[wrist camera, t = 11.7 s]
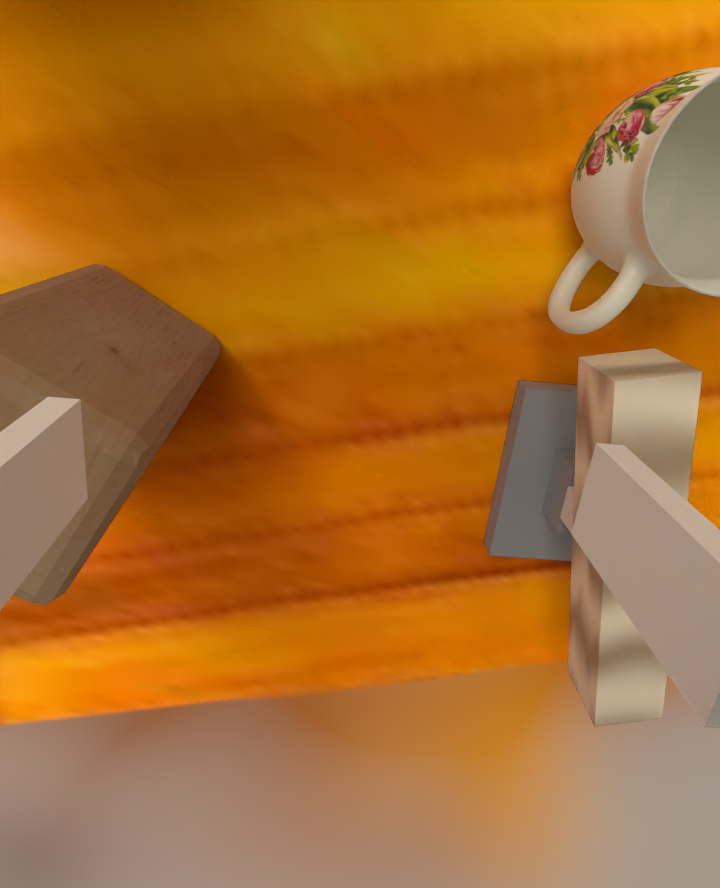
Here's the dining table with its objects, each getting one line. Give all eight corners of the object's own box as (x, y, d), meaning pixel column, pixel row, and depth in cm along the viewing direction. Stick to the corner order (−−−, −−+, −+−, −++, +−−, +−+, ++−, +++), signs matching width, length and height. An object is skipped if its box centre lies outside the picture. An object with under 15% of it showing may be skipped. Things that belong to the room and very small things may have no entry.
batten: (578, 357, 36) (614, 381, 31) (654, 348, 36) (702, 371, 31) (567, 671, 45) (594, 726, 41) (628, 664, 45) (661, 719, 41)
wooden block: (229, 340, 43) (152, 455, 25) (160, 447, 46) (46, 621, 28) (98, 255, 41) (-96, 313, 22) (34, 374, 44) (-183, 512, 25)
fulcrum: (518, 380, 45) (557, 420, 37) (647, 391, 46) (712, 433, 38) (483, 542, 51) (511, 607, 43) (600, 550, 51) (648, 615, 44)
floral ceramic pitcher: (465, 256, 42) (523, 287, 29) (665, 8, 37) (842, -86, 24) (577, 352, 45) (674, 418, 32) (776, 135, 40) (985, 111, 27)
